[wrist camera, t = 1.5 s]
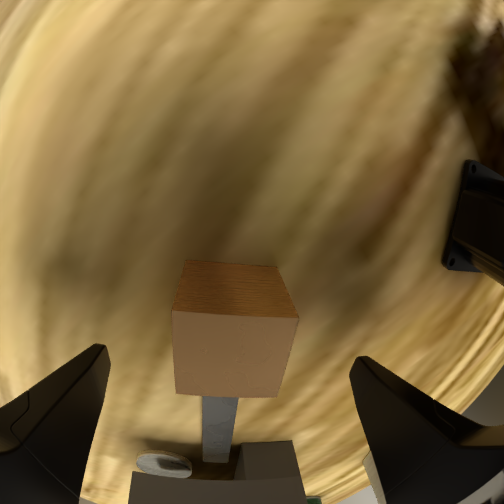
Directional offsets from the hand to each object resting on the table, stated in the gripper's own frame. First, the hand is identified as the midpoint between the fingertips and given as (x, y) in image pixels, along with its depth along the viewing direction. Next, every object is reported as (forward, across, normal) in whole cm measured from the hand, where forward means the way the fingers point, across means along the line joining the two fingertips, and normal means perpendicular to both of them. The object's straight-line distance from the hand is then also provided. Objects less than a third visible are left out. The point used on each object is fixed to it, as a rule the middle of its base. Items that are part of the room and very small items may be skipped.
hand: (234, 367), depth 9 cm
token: (+5, +5, +18) cm, 19 cm away
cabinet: (+4, 0, +19) cm, 19 cm away
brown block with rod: (+4, 0, +7) cm, 8 cm away
